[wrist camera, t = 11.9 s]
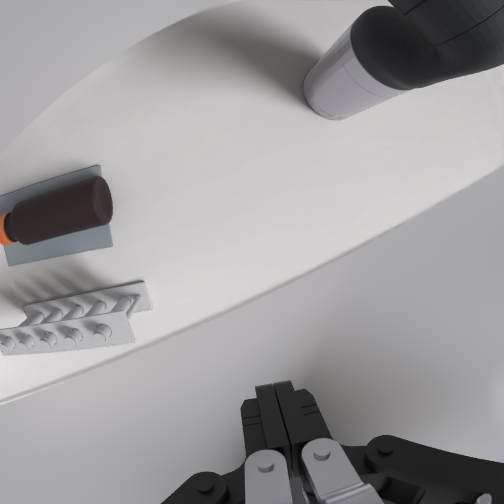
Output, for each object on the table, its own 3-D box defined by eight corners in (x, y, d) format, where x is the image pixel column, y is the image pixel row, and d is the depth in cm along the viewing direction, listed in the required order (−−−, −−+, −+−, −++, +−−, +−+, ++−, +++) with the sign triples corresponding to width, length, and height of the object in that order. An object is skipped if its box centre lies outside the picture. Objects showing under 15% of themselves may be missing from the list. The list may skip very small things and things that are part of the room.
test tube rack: (34, 327, 42) (-4, 363, 29) (25, 304, 41) (-17, 336, 28) (153, 307, 43) (132, 352, 31) (145, 280, 42) (118, 318, 30)
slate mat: (100, 165, 38) (99, 165, 37) (113, 246, 41) (112, 246, 40) (-3, 198, 36) (-4, 198, 36) (10, 265, 39) (8, 266, 38)
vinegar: (91, 170, 32) (-12, 208, 31) (97, 223, 33) (-7, 253, 31) (110, 179, 39) (13, 210, 38) (116, 224, 39) (17, 250, 38)
